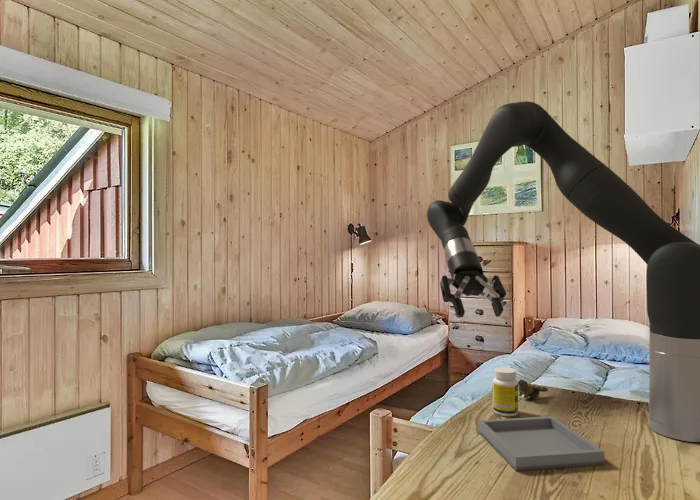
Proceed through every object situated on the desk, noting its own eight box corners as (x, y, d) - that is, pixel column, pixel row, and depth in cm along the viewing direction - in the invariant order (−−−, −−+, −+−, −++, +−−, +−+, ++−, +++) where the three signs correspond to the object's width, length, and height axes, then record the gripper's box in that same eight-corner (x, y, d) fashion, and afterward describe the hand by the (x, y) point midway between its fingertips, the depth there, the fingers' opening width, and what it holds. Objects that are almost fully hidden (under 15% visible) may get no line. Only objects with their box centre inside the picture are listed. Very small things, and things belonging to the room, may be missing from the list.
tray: (552, 427, 83) (552, 416, 83) (604, 464, 69) (604, 451, 69) (477, 431, 81) (477, 420, 81) (515, 470, 67) (515, 457, 67)
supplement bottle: (520, 418, 87) (520, 374, 87) (494, 416, 88) (494, 372, 88) (516, 408, 92) (516, 367, 92) (491, 407, 93) (491, 366, 93)
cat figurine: (511, 397, 98) (514, 378, 98) (539, 399, 101) (542, 381, 101) (521, 401, 95) (524, 381, 95) (549, 403, 98) (552, 385, 98)
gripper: (437, 249, 108) (454, 305, 97) (495, 249, 110) (517, 304, 99) (430, 270, 114) (445, 325, 103) (485, 270, 115) (505, 324, 104)
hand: (480, 314), depth 101 cm, fingers open, 8 cm apart
